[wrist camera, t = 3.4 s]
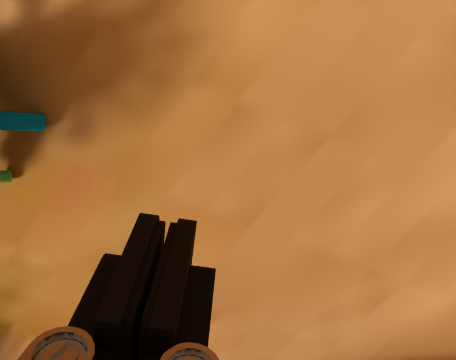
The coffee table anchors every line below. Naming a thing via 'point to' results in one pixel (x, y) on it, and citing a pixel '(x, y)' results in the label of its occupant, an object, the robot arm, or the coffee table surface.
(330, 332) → the coffee table surface
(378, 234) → the coffee table surface
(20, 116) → the gear
